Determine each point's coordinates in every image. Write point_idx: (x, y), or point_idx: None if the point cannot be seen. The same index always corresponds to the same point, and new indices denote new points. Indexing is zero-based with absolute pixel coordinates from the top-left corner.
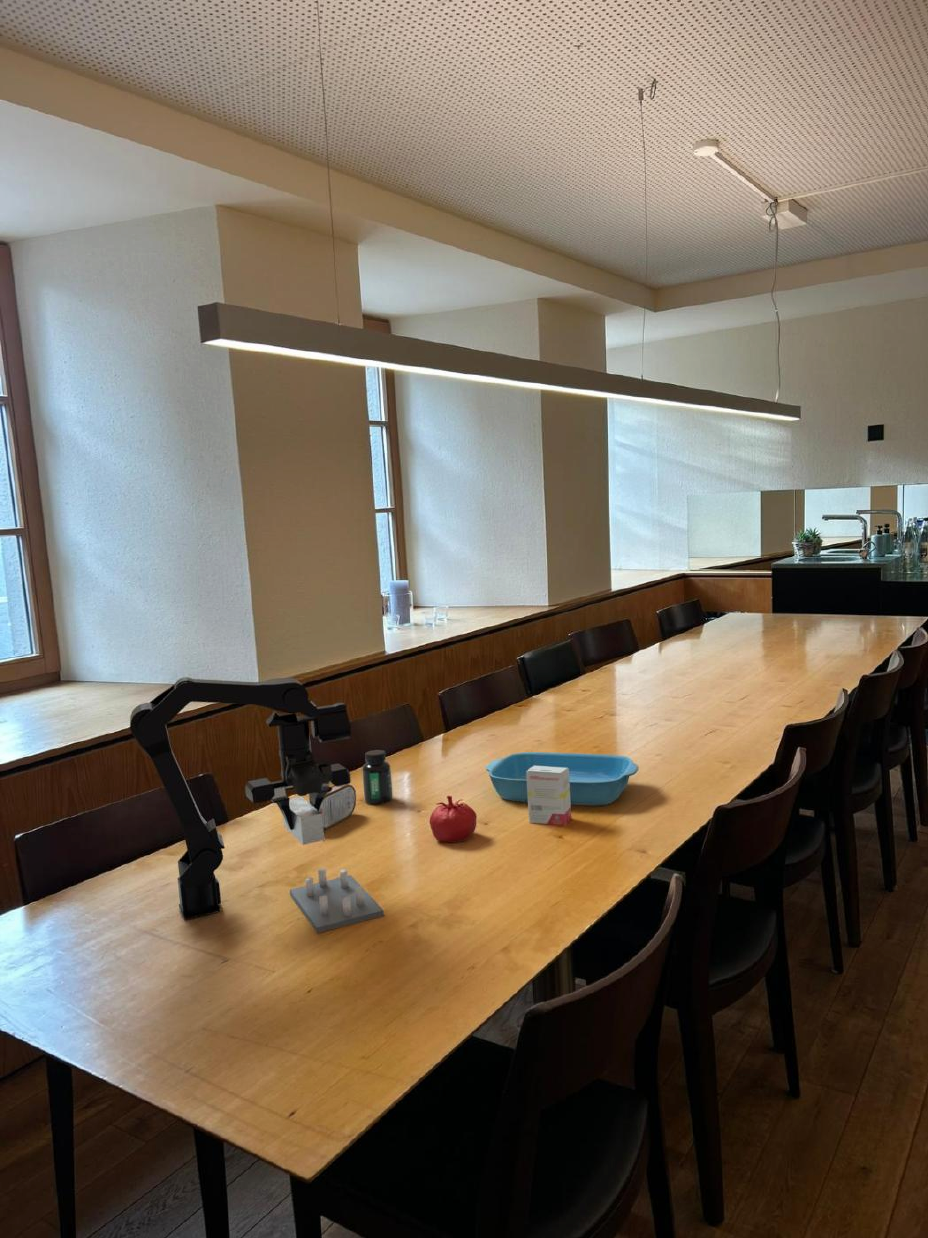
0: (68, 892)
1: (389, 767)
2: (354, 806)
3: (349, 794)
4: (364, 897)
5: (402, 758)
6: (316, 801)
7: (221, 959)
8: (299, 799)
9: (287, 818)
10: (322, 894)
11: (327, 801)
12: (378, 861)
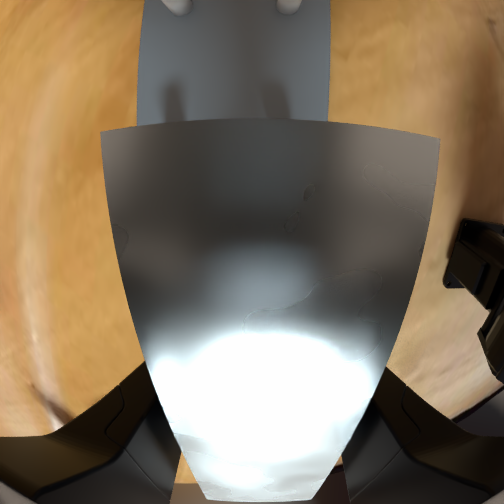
0: (498, 384)
1: None
2: None
3: None
4: (155, 40)
5: None
6: (119, 435)
7: (495, 32)
8: (226, 493)
9: (385, 370)
10: (250, 117)
11: None
12: (75, 265)
